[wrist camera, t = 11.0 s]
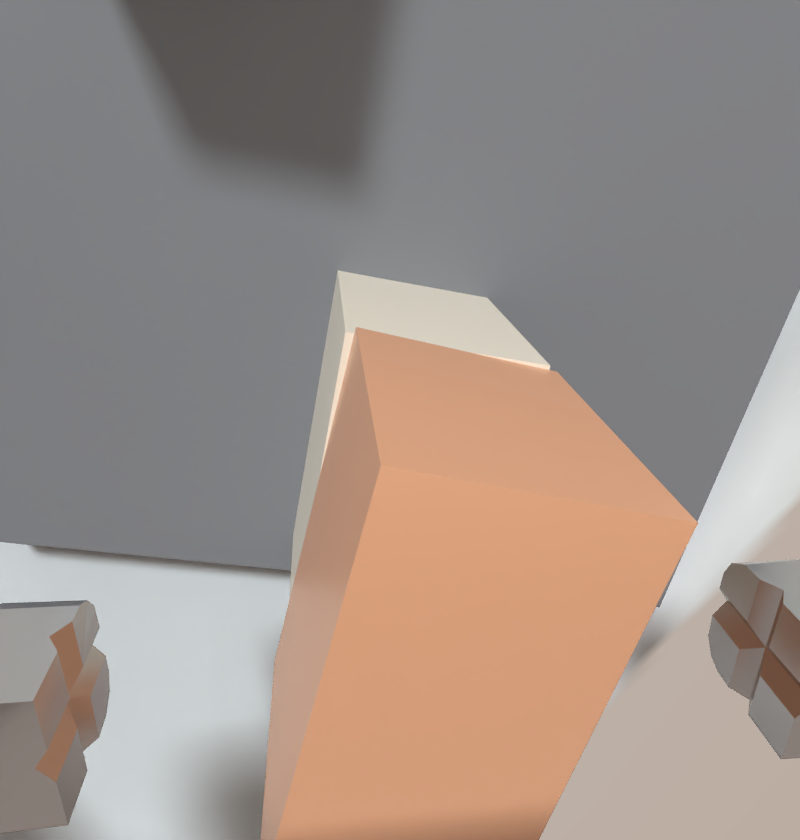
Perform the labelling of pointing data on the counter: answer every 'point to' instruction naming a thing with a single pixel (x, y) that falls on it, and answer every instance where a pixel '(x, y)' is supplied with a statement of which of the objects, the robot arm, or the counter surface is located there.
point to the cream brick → (405, 317)
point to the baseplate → (370, 233)
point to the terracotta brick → (458, 600)
